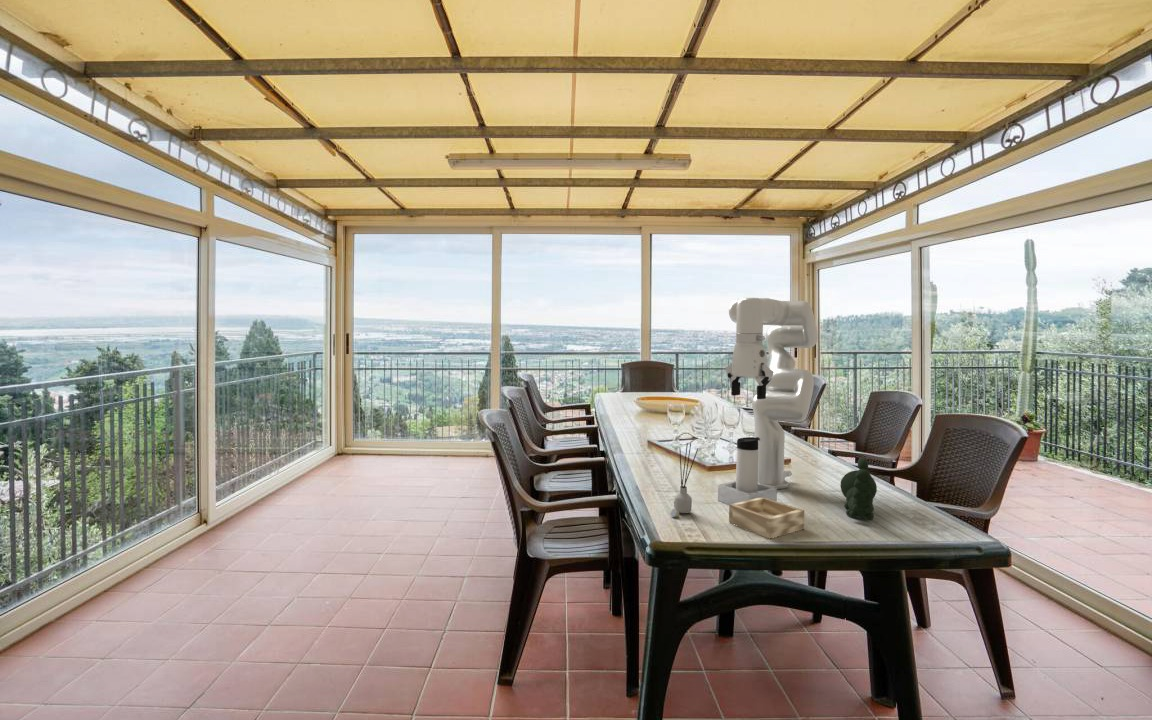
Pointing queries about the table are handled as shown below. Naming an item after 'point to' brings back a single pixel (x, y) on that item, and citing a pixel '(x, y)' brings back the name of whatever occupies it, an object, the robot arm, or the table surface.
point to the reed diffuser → (683, 492)
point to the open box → (744, 493)
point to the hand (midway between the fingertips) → (748, 397)
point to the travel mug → (747, 464)
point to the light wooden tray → (766, 517)
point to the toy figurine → (859, 491)
